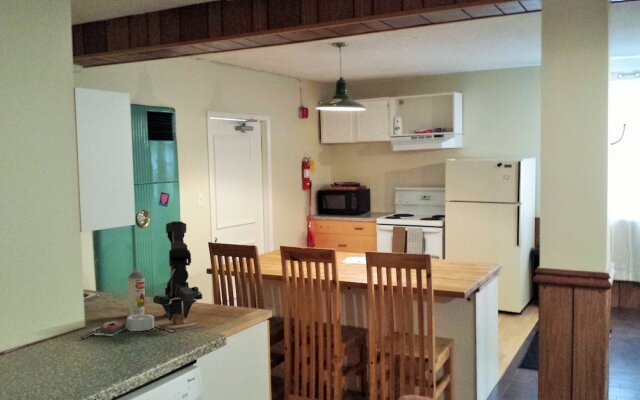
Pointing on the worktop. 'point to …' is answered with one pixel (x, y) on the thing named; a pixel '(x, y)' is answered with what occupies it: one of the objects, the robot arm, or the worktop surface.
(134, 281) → the aerosol can
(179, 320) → the lid
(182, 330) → the mat
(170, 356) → the worktop surface
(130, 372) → the worktop surface
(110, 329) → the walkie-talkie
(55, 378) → the worktop surface
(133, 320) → the bowl
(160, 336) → the worktop surface
